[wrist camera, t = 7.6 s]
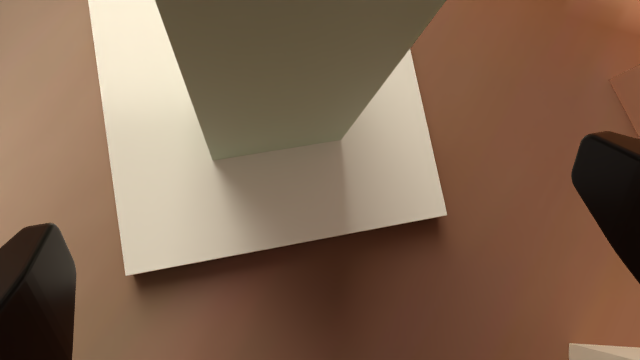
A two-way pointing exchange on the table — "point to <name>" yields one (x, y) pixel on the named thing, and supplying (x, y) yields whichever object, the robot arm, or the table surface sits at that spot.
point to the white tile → (244, 160)
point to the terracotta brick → (629, 94)
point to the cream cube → (602, 352)
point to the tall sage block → (287, 65)
